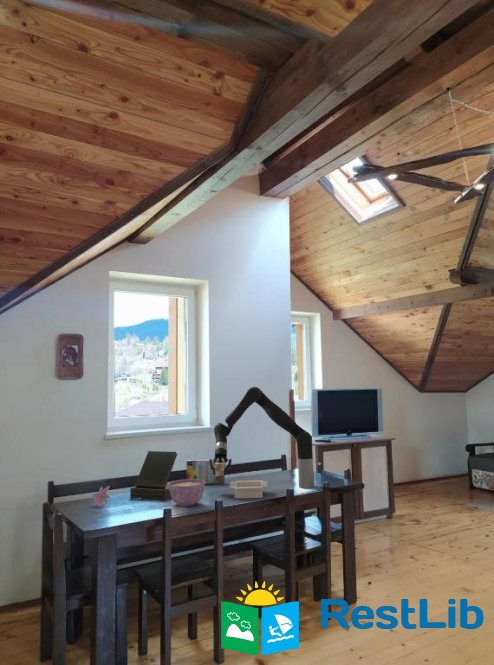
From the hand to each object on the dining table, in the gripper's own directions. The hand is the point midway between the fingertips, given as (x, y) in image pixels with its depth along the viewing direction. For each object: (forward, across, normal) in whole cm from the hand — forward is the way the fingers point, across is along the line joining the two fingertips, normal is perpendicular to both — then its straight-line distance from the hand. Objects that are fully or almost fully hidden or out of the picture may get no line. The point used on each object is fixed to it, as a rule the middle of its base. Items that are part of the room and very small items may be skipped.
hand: (219, 474), depth 281 cm
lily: (+22, -64, -6) cm, 68 cm away
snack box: (-16, -14, +32) cm, 38 cm away
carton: (+11, +17, +5) cm, 21 cm away
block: (+2, 0, +5) cm, 5 cm away
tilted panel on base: (+9, -38, +8) cm, 39 cm away
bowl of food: (+25, -16, -9) cm, 31 cm away
